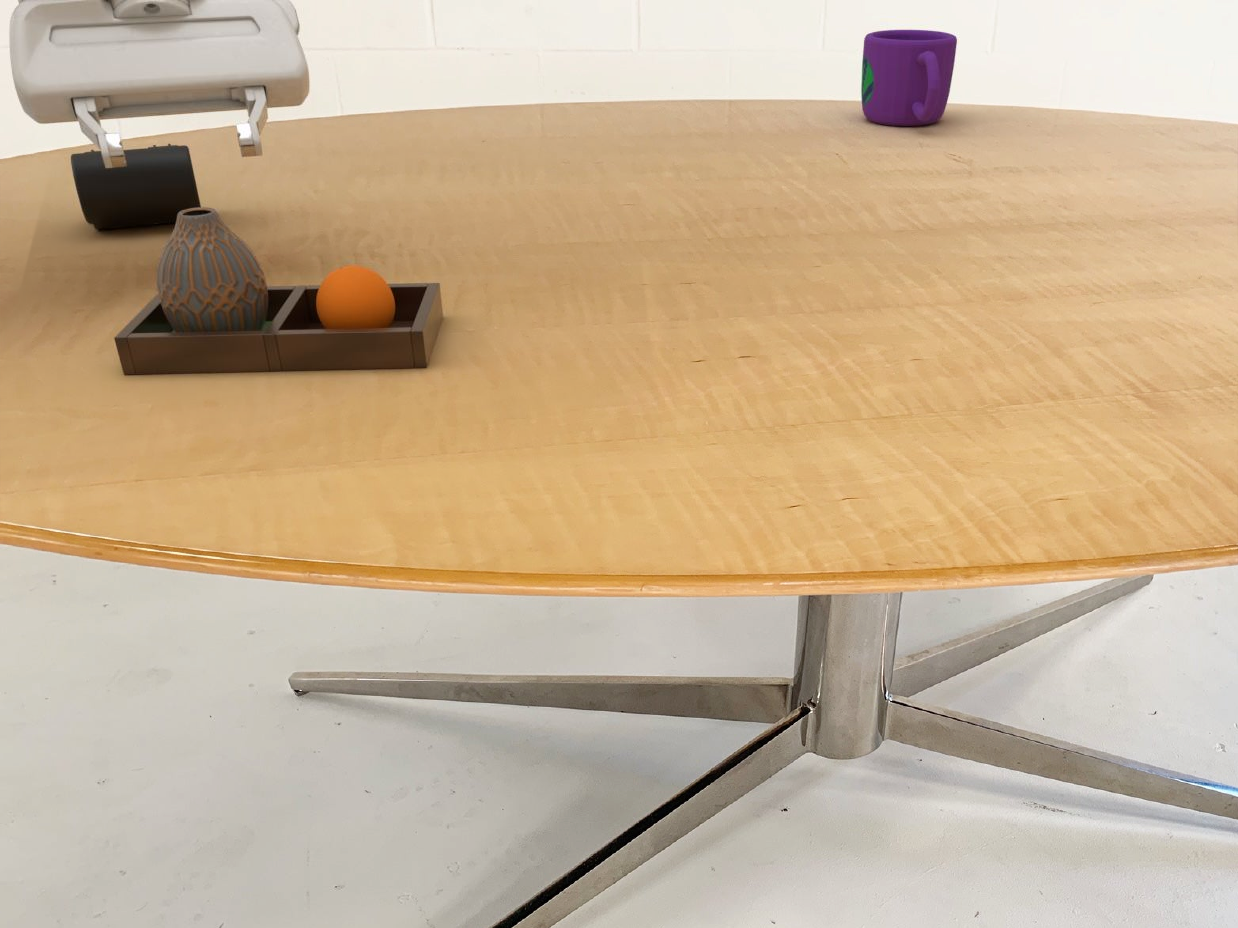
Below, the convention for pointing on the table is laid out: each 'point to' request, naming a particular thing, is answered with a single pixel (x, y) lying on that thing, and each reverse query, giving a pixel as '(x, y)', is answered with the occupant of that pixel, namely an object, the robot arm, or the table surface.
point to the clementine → (355, 300)
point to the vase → (210, 277)
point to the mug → (907, 76)
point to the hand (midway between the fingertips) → (184, 157)
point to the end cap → (135, 187)
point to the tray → (287, 338)
